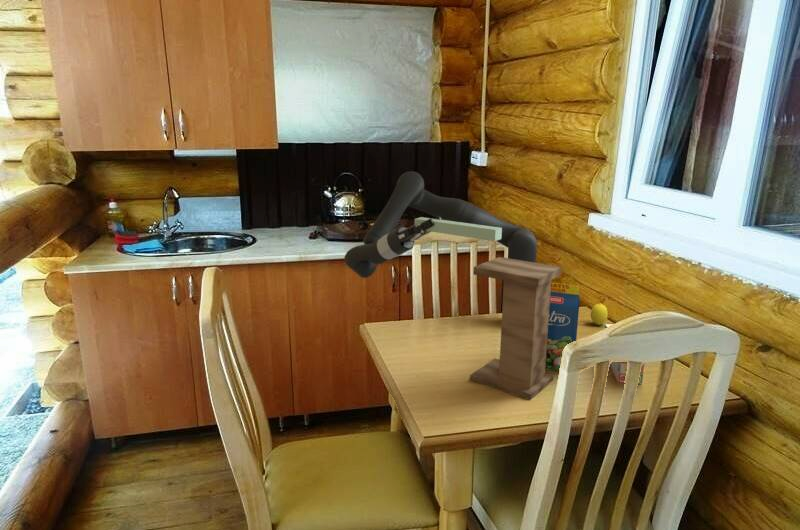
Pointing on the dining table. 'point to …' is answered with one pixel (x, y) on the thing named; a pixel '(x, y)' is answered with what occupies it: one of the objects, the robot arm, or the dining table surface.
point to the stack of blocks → (622, 368)
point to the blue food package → (561, 322)
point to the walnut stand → (520, 326)
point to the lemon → (599, 314)
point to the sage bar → (463, 229)
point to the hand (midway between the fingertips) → (436, 220)
